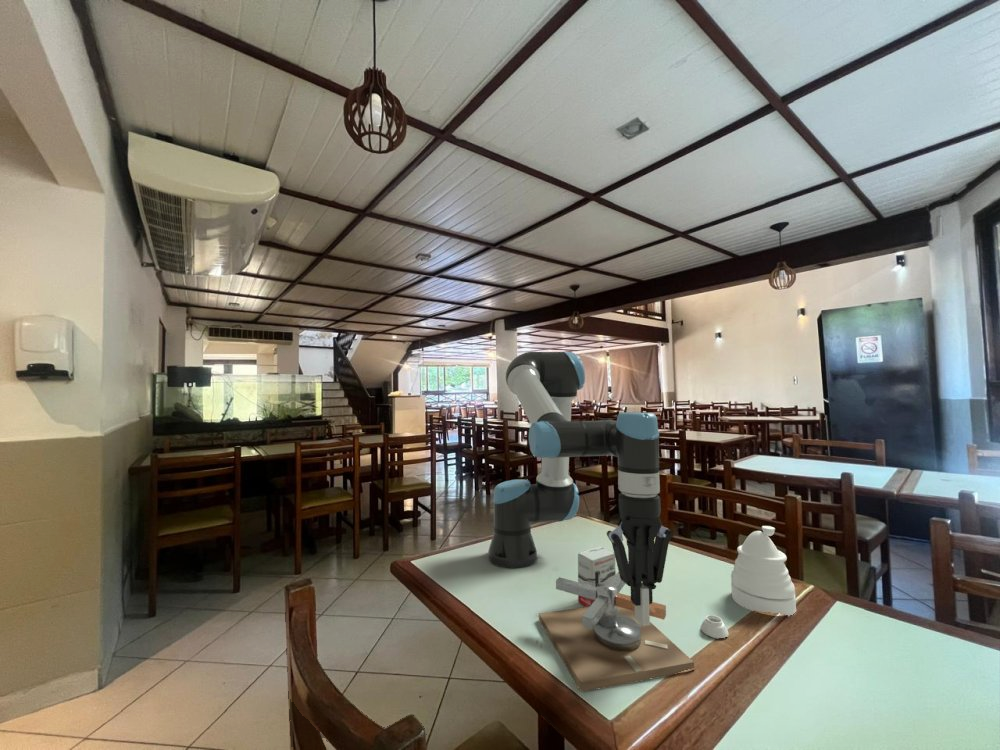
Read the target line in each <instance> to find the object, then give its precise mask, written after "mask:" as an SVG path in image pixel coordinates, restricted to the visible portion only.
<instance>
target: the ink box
mask: <svg viewBox="0 0 1000 750" xmlns="http://www.w3.org/2000/svg"><path fill="white" fill-rule="evenodd" d="M616 570H617V569H616V558H615V554H614V551H612V550H610V549H607V548H604V546H600V545H599V546H596V547H592V548H590V549H587V550H583V551H581V552H579V553H577V582H579V583H583V584H587V585H591V586H594V587H597V584H598V583H600V582H610V581H611V580H612V579H613V578H614V577H615V575H616V574H617V573H616ZM577 601H578V604H580V605H582V606H583V607H590V606H591V605H592V603H593V602H594V601H595V600H593V599H589V598H586V597H582V596H579V595H577Z"/></svg>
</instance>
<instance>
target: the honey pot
mask: <svg viewBox="0 0 1000 750" xmlns="http://www.w3.org/2000/svg"><path fill="white" fill-rule="evenodd" d="M761 529H762V531H761V530H754V531H752V532H751V533H750V534H749V535H748V536H747V537H745V538H746V539H745V540H744V542H743V544H741V545H739V546H737V549H736V550H737V552H738V555H737V558H735V559H734V561H735V562H734V564H733V570H731V574H730V581H731V582H730V587H731V598H732V600H733V601H734V602H735V603H736V604H737V603H738V605H739V606H740V605H741V606H740V607H742V608H744V607H745V608H744V609H746V608H748V609H750V610H756V611H762V612H771V613H780V614H785V615H788V617H791V616H790V615H792V616H794V615H795V614H796V613H797V601H796V587H795V584H794V583H793V582H792V578H791V576H790V574H789V570H788V568H787V567H786V565H785V562H786V561H788V560H787V559H788V557H787V555H786V554H785V553H784V552H782V551H781V550H779V549H777V546H776V545H775V544H774V542H773V541H772V539H771V538H770V537H771V536H773V535H774V534H775V531H776V528H775V527H773V526H771V525H762V526H761ZM748 609H747V610H748ZM750 610H749V611H750ZM795 612H796V613H795ZM794 613H795V614H794ZM793 614H794V615H793Z"/></svg>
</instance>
